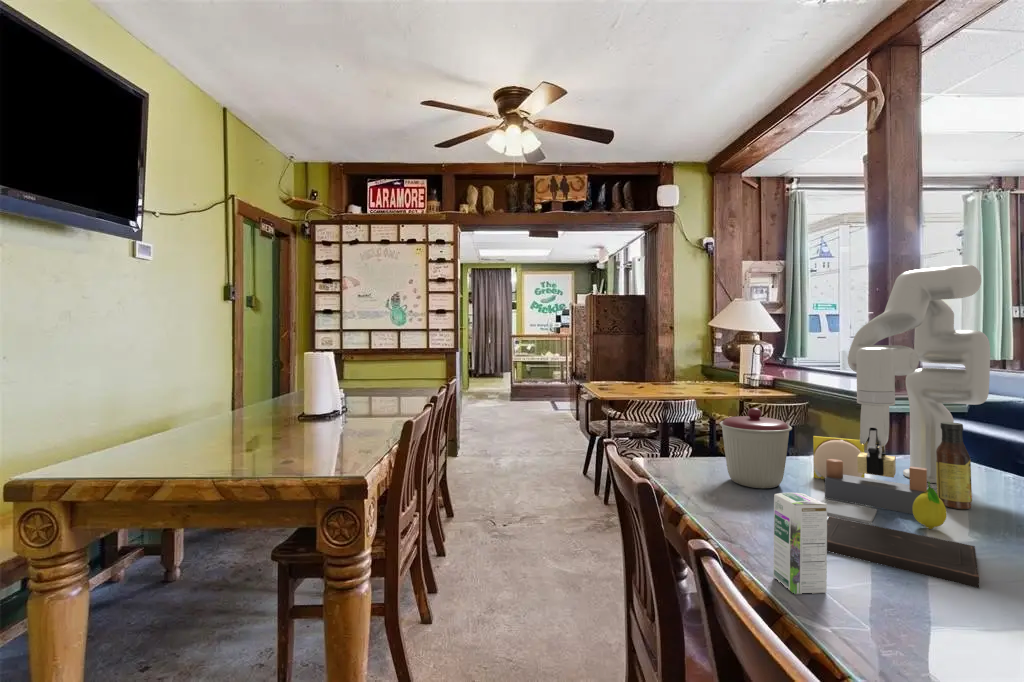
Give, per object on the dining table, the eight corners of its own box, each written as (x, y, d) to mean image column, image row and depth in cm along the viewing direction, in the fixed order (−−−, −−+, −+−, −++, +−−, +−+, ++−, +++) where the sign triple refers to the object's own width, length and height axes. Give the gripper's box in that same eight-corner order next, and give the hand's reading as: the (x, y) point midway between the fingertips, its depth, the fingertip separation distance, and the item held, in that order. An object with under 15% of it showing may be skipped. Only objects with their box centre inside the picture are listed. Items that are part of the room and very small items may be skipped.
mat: (826, 502, 120) (826, 499, 120) (877, 511, 113) (877, 509, 113) (817, 513, 113) (817, 510, 113) (871, 524, 106) (871, 521, 106)
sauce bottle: (978, 511, 113) (978, 426, 113) (947, 509, 114) (947, 425, 114) (959, 502, 119) (959, 421, 119) (929, 500, 121) (929, 420, 121)
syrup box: (771, 577, 83) (771, 492, 83) (804, 576, 83) (804, 491, 83) (793, 595, 77) (793, 504, 77) (829, 593, 78) (828, 502, 77)
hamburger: (813, 482, 136) (813, 439, 136) (813, 475, 144) (813, 434, 143) (866, 489, 130) (866, 444, 130) (863, 481, 137) (863, 438, 137)
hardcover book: (829, 526, 106) (829, 516, 106) (974, 558, 91) (974, 545, 91) (814, 551, 94) (814, 539, 94) (979, 592, 79) (979, 578, 79)
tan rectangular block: (860, 467, 124) (860, 452, 123) (895, 472, 119) (895, 456, 119) (857, 472, 120) (857, 456, 120) (893, 477, 115) (893, 460, 115)
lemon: (939, 537, 99) (939, 488, 99) (905, 527, 104) (905, 480, 104) (955, 531, 102) (954, 483, 102) (921, 521, 107) (921, 476, 107)
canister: (793, 480, 139) (793, 406, 139) (790, 497, 124) (790, 415, 123) (725, 471, 148) (725, 402, 148) (714, 486, 133) (714, 409, 133)
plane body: (829, 491, 129) (829, 453, 129) (930, 509, 115) (930, 466, 115) (823, 497, 124) (823, 458, 123) (928, 517, 110) (928, 472, 110)
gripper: (862, 393, 128) (863, 461, 128) (851, 400, 115) (852, 476, 116) (898, 394, 123) (899, 466, 123) (891, 403, 110) (892, 483, 111)
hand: (876, 470), depth 119 cm, fingers closed on tan rectangular block, 5 cm apart
